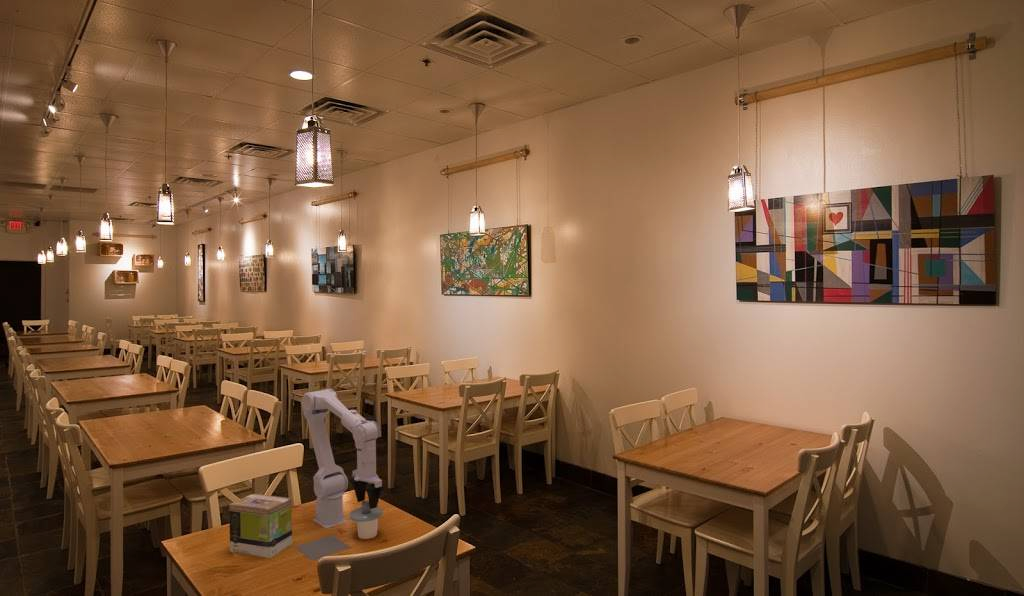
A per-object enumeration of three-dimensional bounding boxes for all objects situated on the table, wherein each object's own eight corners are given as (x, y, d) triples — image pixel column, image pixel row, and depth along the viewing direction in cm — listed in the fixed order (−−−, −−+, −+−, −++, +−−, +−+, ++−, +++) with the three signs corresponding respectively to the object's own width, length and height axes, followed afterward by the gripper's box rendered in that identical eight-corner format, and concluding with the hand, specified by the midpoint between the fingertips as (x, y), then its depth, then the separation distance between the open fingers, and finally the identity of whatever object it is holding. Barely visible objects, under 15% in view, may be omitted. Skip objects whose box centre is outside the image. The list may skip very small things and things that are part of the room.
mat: (294, 549, 172) (294, 547, 172) (331, 536, 181) (331, 534, 181) (312, 562, 164) (312, 560, 164) (350, 549, 172) (350, 547, 172)
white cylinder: (373, 542, 176) (372, 519, 176) (352, 540, 178) (352, 518, 178) (382, 532, 183) (382, 511, 183) (362, 531, 185) (362, 509, 184)
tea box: (293, 545, 175) (292, 497, 174) (269, 560, 165) (268, 509, 165) (254, 538, 180) (253, 491, 179) (228, 553, 170) (227, 503, 170)
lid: (343, 515, 180) (343, 502, 180) (371, 506, 187) (371, 494, 187) (360, 524, 173) (360, 511, 173) (388, 514, 180) (388, 502, 180)
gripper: (343, 459, 182) (344, 501, 183) (367, 469, 172) (367, 514, 172) (363, 454, 187) (364, 495, 188) (387, 464, 177) (388, 508, 177)
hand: (367, 504), depth 180 cm, fingers open, 7 cm apart
